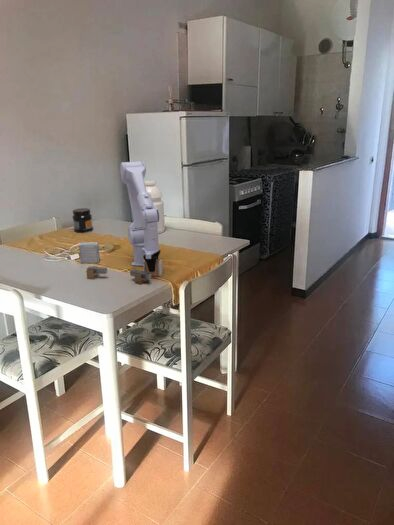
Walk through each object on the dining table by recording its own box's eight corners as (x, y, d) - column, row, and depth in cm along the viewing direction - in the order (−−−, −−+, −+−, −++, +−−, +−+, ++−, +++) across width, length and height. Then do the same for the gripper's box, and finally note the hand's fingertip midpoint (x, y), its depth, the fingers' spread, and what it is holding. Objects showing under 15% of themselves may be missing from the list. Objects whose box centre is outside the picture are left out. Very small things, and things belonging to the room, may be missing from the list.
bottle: (135, 234, 234) (131, 182, 224) (145, 227, 246) (142, 178, 237) (159, 235, 230) (156, 183, 220) (168, 229, 242) (166, 179, 233)
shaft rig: (91, 274, 178) (90, 265, 176) (155, 278, 172) (154, 269, 170) (83, 280, 171) (82, 271, 170) (149, 285, 165) (149, 275, 164)
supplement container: (97, 229, 245) (94, 209, 241) (83, 234, 237) (81, 212, 232) (84, 227, 250) (81, 207, 246) (70, 231, 242) (67, 210, 238)
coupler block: (146, 272, 179) (145, 258, 177) (162, 273, 177) (161, 259, 175) (143, 275, 175) (142, 261, 173) (160, 276, 174) (159, 262, 172)
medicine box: (100, 259, 195) (98, 241, 192) (98, 263, 191) (96, 244, 188) (82, 260, 195) (80, 242, 192) (80, 263, 190) (78, 245, 187)
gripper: (145, 233, 178) (147, 263, 183) (137, 243, 165) (139, 276, 169) (161, 233, 177) (163, 263, 182) (155, 243, 164) (157, 276, 169)
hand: (153, 269), depth 176 cm, fingers closed on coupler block, 4 cm apart
